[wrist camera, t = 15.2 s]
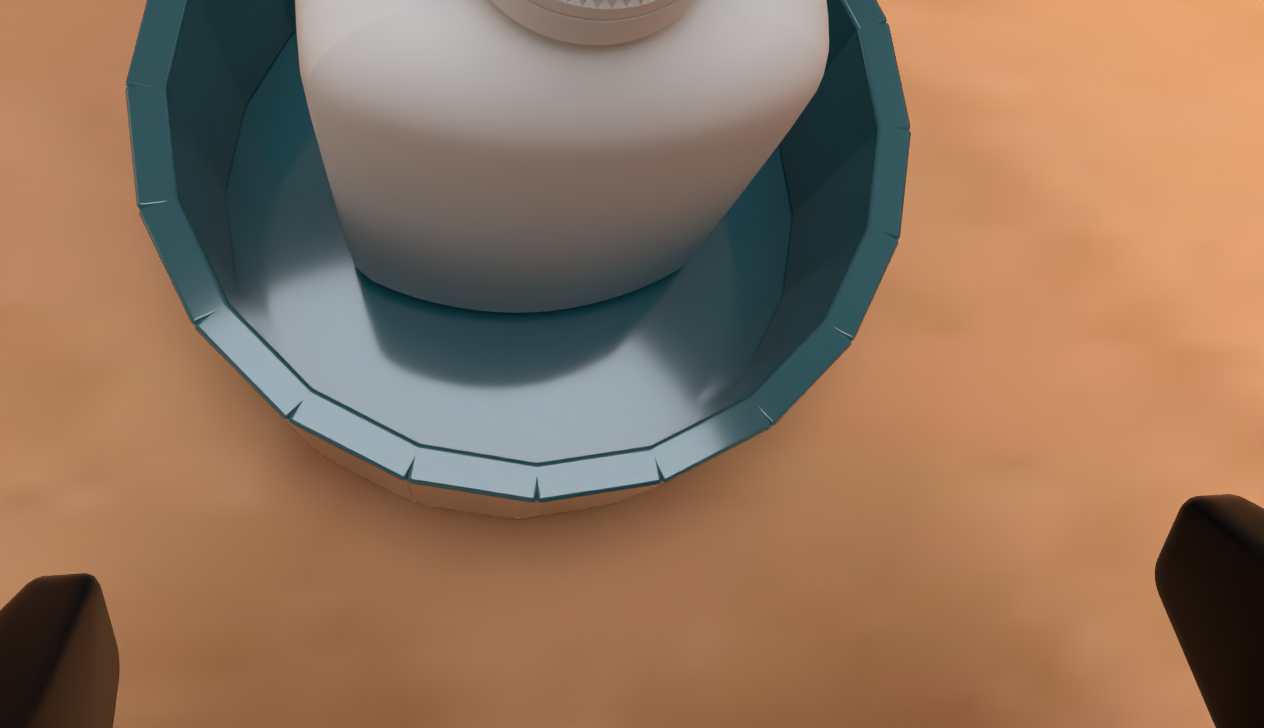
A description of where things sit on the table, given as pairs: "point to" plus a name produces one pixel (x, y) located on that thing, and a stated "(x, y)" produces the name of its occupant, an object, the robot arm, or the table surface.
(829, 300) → the teal bowl
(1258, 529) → the robot arm
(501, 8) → the eye dropper bottle
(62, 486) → the table surface
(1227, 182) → the table surface
